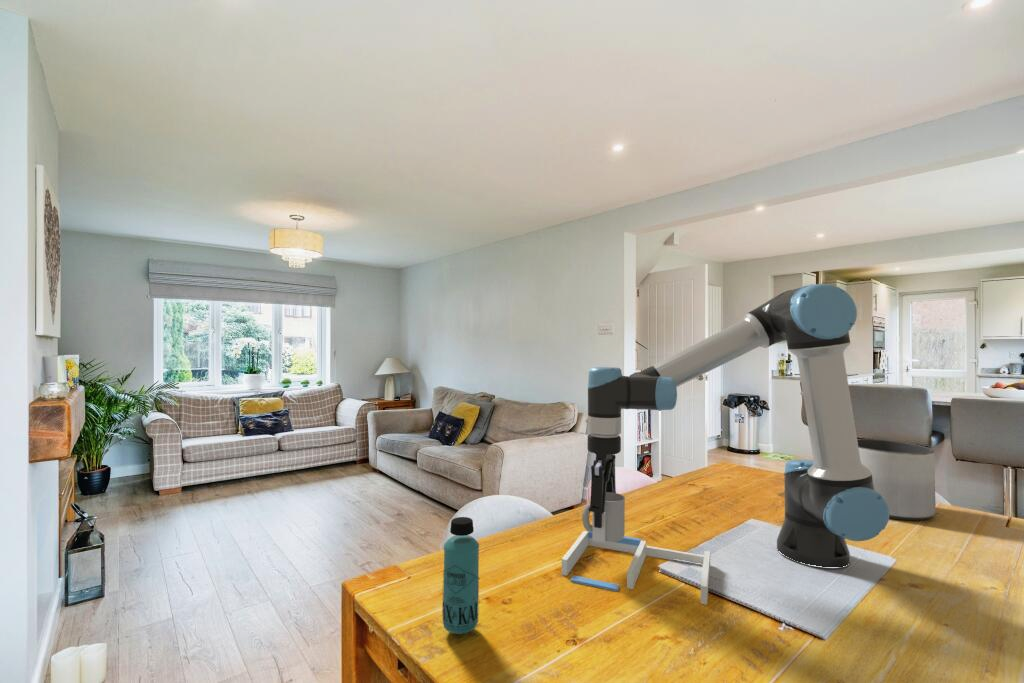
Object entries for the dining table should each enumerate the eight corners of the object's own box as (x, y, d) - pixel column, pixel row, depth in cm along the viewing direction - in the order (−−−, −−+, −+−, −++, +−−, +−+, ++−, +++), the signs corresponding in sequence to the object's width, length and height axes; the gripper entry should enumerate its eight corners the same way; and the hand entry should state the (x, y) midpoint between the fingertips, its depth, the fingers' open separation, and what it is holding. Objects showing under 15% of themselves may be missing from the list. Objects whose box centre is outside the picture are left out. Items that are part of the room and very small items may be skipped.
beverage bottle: (443, 622, 89) (443, 513, 89) (479, 621, 90) (479, 512, 90) (440, 644, 82) (441, 526, 83) (480, 642, 83) (480, 525, 83)
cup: (630, 540, 108) (630, 500, 108) (588, 544, 106) (589, 503, 106) (615, 528, 115) (615, 491, 115) (576, 532, 113) (576, 494, 113)
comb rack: (710, 564, 113) (710, 549, 113) (706, 610, 93) (706, 592, 93) (584, 542, 125) (584, 529, 125) (558, 579, 106) (558, 563, 106)
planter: (928, 506, 155) (927, 443, 156) (943, 528, 136) (942, 456, 137) (842, 494, 168) (842, 436, 168) (845, 513, 149) (845, 447, 149)
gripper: (598, 426, 122) (598, 517, 122) (575, 440, 103) (574, 548, 103) (629, 428, 119) (628, 522, 119) (610, 444, 100) (609, 554, 100)
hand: (603, 534), depth 111 cm, fingers closed on cup, 8 cm apart
